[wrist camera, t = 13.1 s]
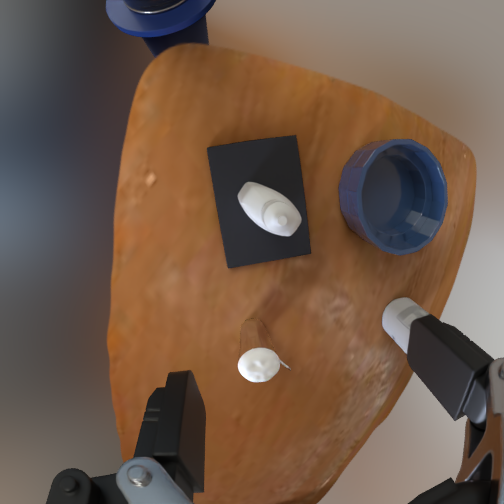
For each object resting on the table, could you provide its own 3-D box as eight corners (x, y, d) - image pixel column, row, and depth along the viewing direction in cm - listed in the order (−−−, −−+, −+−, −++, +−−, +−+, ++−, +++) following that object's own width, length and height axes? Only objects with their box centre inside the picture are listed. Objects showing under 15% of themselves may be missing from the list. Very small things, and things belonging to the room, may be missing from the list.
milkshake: (278, 336, 38) (293, 384, 29) (239, 345, 38) (244, 396, 29) (272, 308, 37) (287, 353, 27) (231, 317, 37) (234, 365, 27)
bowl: (331, 144, 32) (350, 140, 27) (418, 141, 33) (443, 139, 27) (342, 250, 36) (361, 264, 30) (423, 234, 36) (447, 244, 31)
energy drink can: (374, 331, 40) (426, 393, 25) (385, 294, 38) (448, 349, 24) (405, 329, 40) (459, 384, 26) (416, 295, 39) (479, 343, 25)
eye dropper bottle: (255, 233, 33) (272, 267, 22) (232, 189, 32) (237, 200, 20) (290, 215, 33) (323, 240, 22) (268, 171, 31) (292, 172, 20)
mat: (207, 148, 31) (206, 147, 30) (294, 135, 31) (296, 135, 31) (227, 266, 35) (228, 268, 34) (309, 252, 35) (311, 253, 35)
